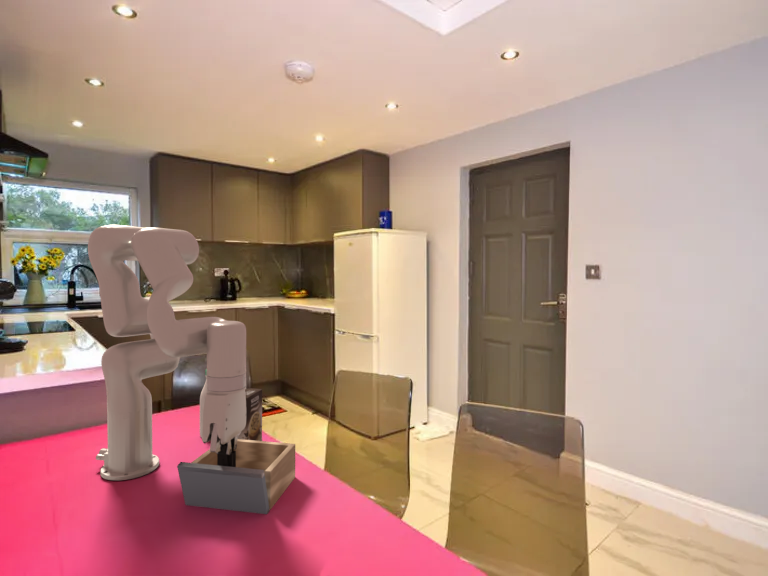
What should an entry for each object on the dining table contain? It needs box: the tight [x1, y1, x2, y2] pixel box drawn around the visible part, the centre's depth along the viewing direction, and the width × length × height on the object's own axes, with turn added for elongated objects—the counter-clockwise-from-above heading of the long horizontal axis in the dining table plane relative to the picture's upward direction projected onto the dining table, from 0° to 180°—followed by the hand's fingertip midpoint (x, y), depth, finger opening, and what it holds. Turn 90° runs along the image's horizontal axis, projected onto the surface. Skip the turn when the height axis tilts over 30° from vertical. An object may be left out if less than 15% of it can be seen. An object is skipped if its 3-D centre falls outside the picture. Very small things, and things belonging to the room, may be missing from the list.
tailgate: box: [176, 461, 271, 515], centre depth 87 cm, size 18×1×11 cm, turn 81°
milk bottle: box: [199, 368, 208, 438], centre depth 129 cm, size 8×8×20 cm
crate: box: [190, 439, 296, 511], centre depth 97 cm, size 18×14×9 cm
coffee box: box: [238, 387, 263, 441], centre depth 119 cm, size 9×6×16 cm
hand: (226, 470), depth 88 cm, fingers closed
